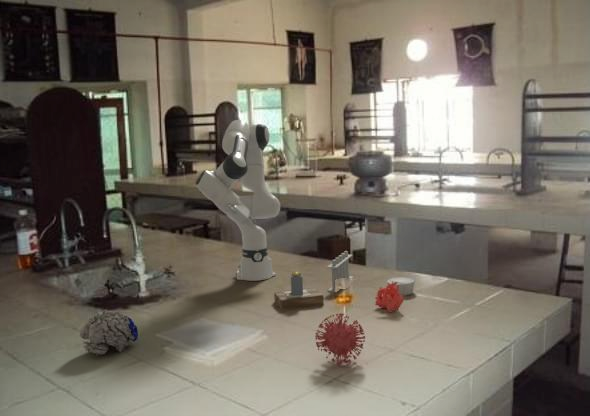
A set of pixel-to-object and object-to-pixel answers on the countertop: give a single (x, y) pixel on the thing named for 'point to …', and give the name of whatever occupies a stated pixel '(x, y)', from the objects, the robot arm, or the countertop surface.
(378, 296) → the protein model
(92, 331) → the educational model
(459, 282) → the countertop surface
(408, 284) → the ramekin
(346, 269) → the test tube rack
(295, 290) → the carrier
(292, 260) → the countertop surface
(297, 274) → the ball
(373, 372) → the countertop surface
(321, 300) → the dock
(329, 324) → the virus model
